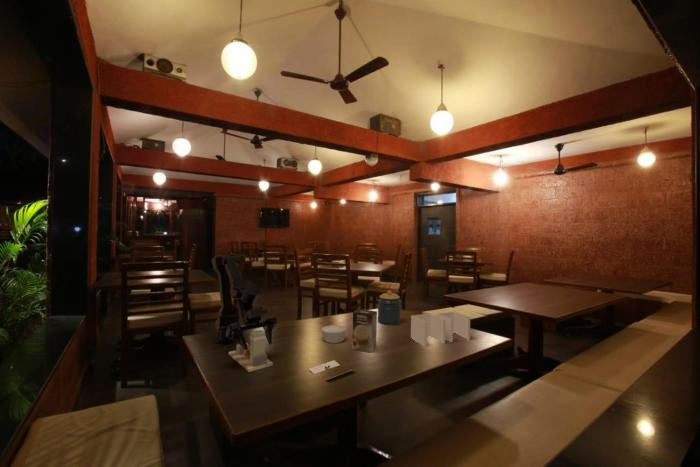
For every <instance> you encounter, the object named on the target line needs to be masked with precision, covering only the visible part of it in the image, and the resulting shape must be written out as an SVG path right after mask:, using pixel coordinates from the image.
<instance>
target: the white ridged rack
mask: <svg viewBox="0 0 700 467" xmlns="http://www.w3.org/2000/svg"><path fill="white" fill-rule="evenodd" d="M246 344H247V348H248V350H247V351H246V350H245V349H244V348H243V347H242V346H241V345H240V344H239V343H237V344H236V347H235V349H236V352H237V353H239V354H244V355H245V356H248V355H250V344H249V343H248V342H246ZM267 359H268V354H267V353H265V355H261V356H257V357H254V358H253V367H257V366H260V365H264V364H267Z"/></svg>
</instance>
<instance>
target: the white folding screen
mask: <svg viewBox="0 0 700 467" xmlns="http://www.w3.org/2000/svg"><path fill="white" fill-rule="evenodd" d="M453 333H456V334H458V335H457V336H459V335H460V336H459V337H461V336H462V337H461V338H463V337H464V338H463V339H465V338H467V339H466V341H470V340H471V317H470V316H468V315H465V314H463V313H460V312H457V311H445V312H436V313H435V314H432V313H425V314H416V315H414V314H413V315H411V316H410V339H411V338H412V339H413V340H412V339H411V340H412V341H414V340H415V341H414V342H416V343H417V342H418V343H417V344H419V343H420V344H419V345H421V346H422V345H423V347H424V346H425V347H427V340H428V337H427V336H431V337H430V338H432V337H433V339H434V338H435V339H434V340H436V339H437V340H436V341H438V340H439V341H438V342H440V341H441V342H440V343H441V344H442V343H443V344H442V345H445V344H446V342H448V341H449V342H448V343H450V342H453V343H454V339H453V336H454V334H453ZM456 334H455V335H456ZM446 340H447V341H446ZM444 343H445V344H444Z"/></svg>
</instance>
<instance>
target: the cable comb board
mask: <svg viewBox="0 0 700 467" xmlns="http://www.w3.org/2000/svg"><path fill="white" fill-rule="evenodd" d="M228 356H230V357H231V358H232V359H233V360H235V361H236V362H237V363H238V365H240V366H241V367H242V368H244V369H245V370H246V371H248V373H250V372H253V371H258V370H261V369H264V368H267V367H271V366H273V364H274V362H273V361H272V360H270V359H268V358H267V364H264V365H260V366H257V367H253V364H252V363H250V355H248V356H245V355H244V354H239V353H237V352H236V350H235V349H234V350H231V351H228Z"/></svg>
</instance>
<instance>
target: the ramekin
mask: <svg viewBox="0 0 700 467" xmlns="http://www.w3.org/2000/svg"><path fill="white" fill-rule="evenodd" d="M321 332H322V338H323V340H324V342H326V343H328V344H337V343H342V342H344V340H345V339H346V332H347V327H345V326H344V325H343V326H342V325H339V324H337V325H336V324H334V325H333V324H331V325H326V326H323V327H322V328H321Z"/></svg>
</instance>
